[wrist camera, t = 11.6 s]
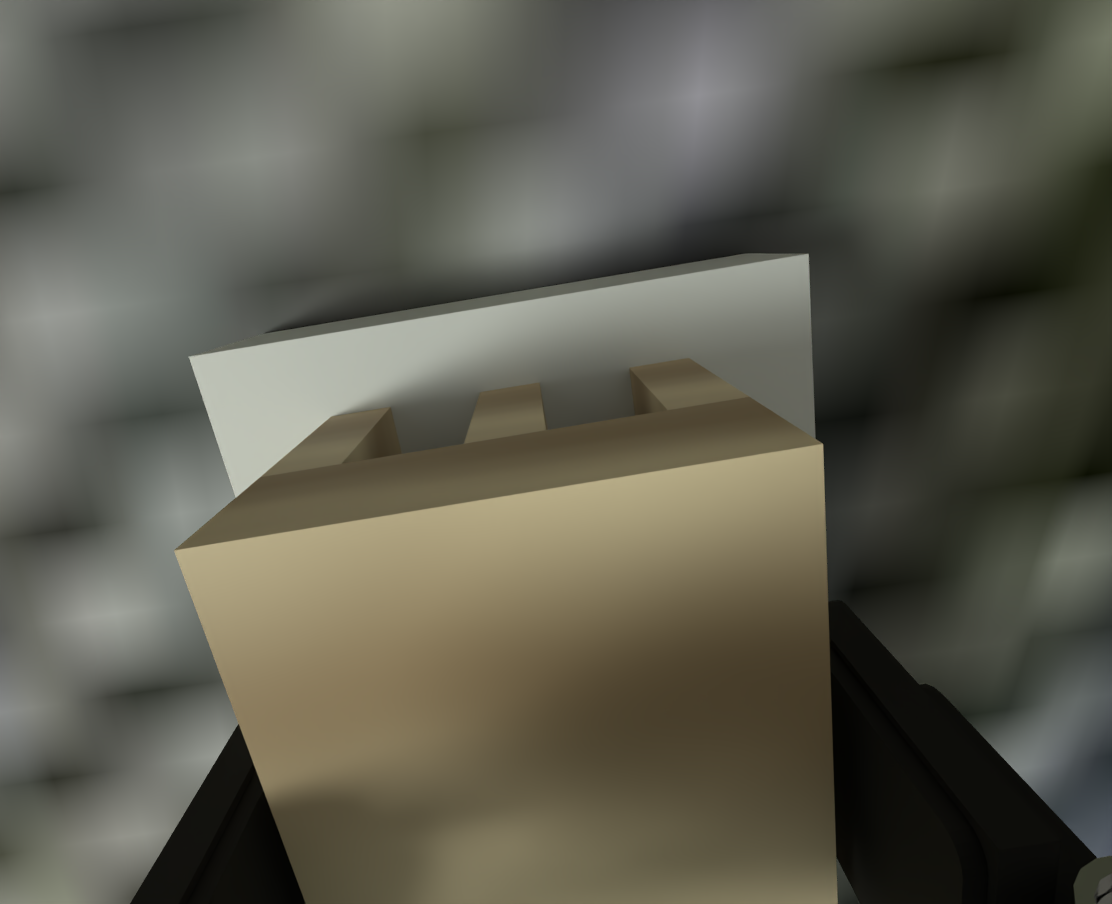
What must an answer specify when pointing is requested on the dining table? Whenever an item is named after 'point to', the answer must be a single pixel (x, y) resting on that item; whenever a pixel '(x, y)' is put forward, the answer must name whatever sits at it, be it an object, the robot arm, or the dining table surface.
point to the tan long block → (538, 653)
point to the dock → (517, 356)
